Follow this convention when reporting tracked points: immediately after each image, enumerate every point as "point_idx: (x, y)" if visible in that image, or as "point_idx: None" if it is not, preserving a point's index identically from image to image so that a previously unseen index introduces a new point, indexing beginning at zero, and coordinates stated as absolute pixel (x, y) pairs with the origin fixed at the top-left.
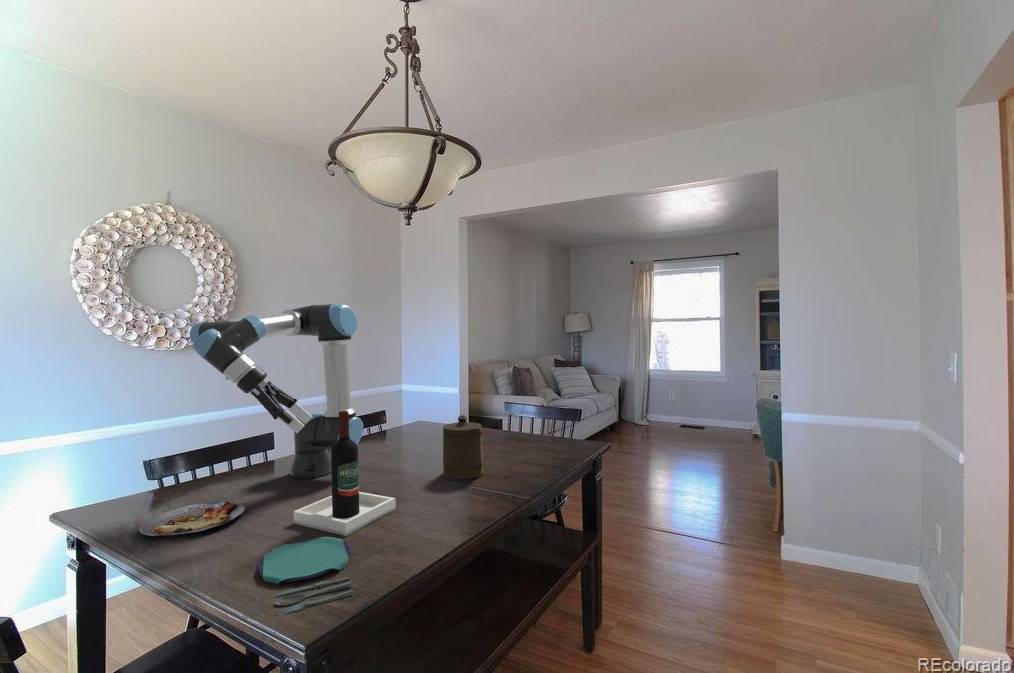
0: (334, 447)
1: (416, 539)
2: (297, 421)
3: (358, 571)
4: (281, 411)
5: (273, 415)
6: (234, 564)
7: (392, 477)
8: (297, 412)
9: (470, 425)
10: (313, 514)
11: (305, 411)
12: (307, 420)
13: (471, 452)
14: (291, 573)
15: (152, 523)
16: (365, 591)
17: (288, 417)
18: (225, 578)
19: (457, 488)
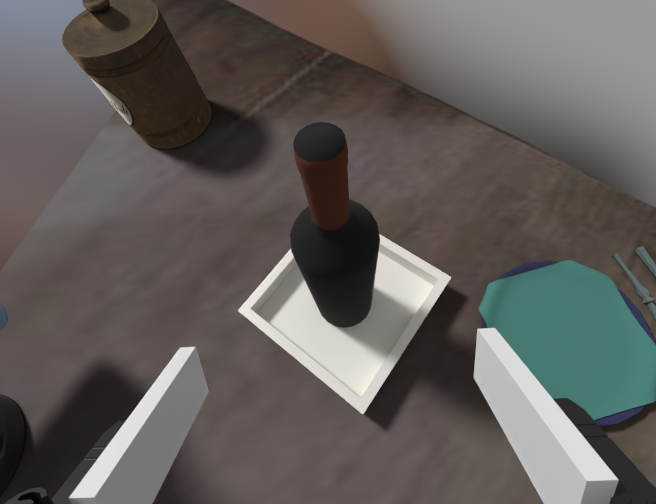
0: (361, 258)
1: (468, 177)
2: (520, 366)
3: (584, 245)
4: None
5: None
6: None
7: (131, 238)
8: (157, 458)
9: (125, 8)
10: (393, 356)
11: (164, 391)
12: (199, 379)
13: (187, 64)
14: (621, 350)
15: None
16: (645, 228)
17: (600, 429)
18: None
19: (253, 129)
